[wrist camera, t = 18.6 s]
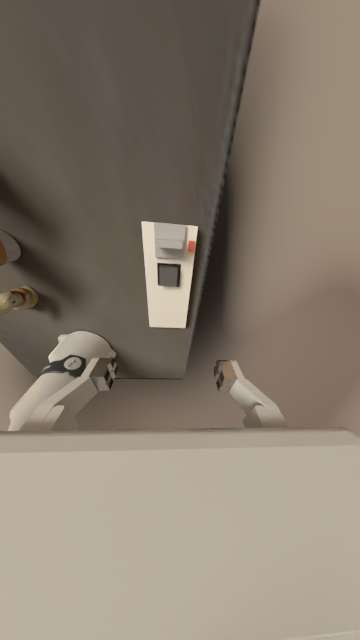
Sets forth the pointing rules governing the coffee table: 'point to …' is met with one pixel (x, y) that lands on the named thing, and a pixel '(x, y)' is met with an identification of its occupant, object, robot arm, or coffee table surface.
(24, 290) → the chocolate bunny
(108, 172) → the coffee table surface
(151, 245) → the socket plate
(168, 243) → the grey lid with handle
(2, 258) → the coffee cup
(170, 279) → the dark grey cube
